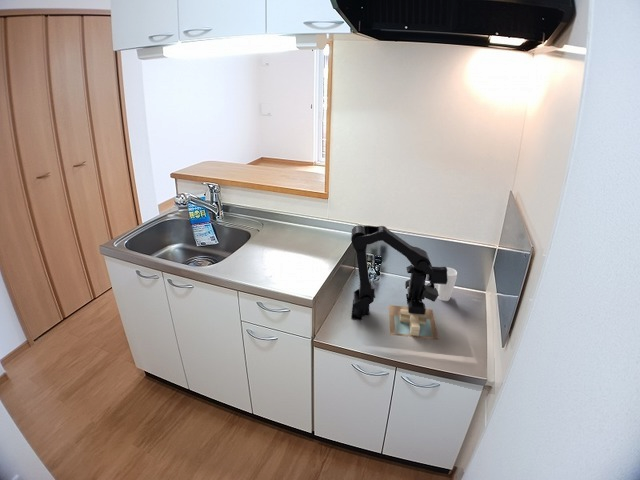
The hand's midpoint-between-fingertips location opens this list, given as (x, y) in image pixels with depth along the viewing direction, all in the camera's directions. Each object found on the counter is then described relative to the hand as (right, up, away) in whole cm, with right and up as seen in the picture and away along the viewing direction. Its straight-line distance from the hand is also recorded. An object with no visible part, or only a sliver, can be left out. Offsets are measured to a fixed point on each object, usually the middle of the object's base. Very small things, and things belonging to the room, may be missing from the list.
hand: (411, 313), depth 146 cm
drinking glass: (+17, +3, +13) cm, 21 cm away
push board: (-1, -4, -2) cm, 5 cm away
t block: (-1, -4, -5) cm, 7 cm away
